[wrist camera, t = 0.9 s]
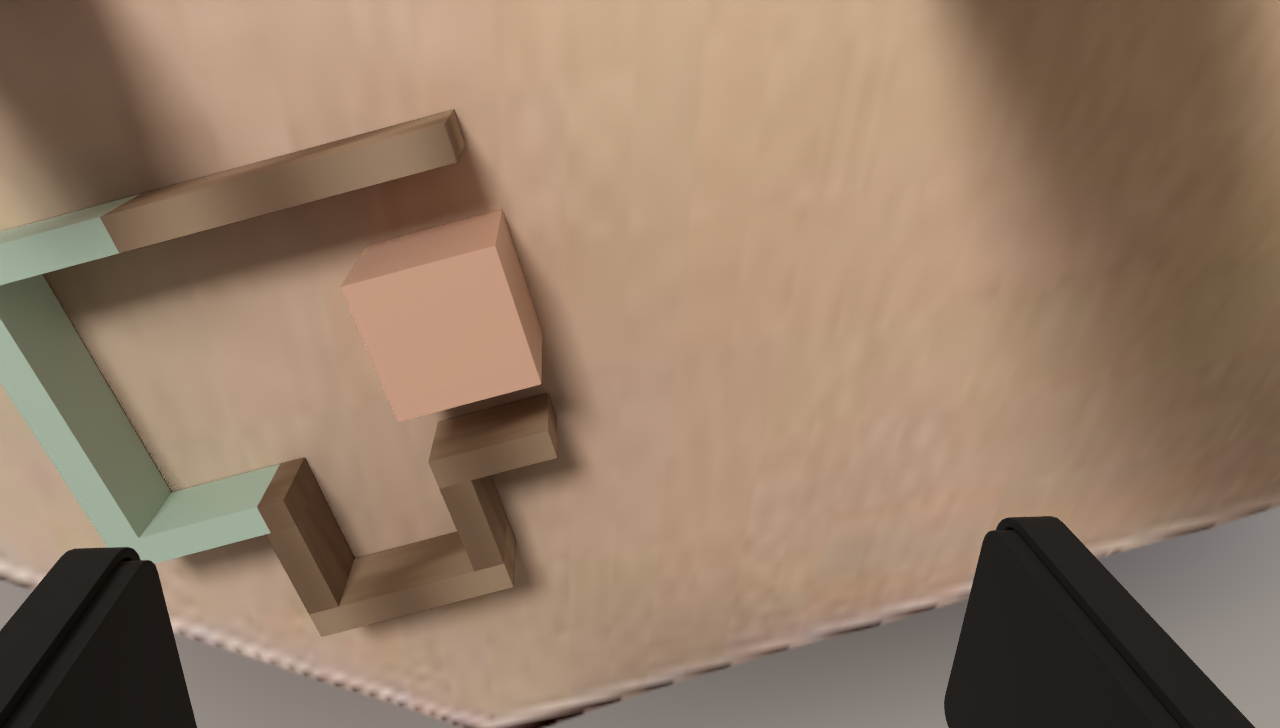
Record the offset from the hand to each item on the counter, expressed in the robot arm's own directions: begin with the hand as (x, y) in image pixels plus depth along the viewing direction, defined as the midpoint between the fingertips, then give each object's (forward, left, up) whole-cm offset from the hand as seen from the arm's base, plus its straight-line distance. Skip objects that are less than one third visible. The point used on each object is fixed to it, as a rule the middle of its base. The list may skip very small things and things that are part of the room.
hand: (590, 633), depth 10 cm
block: (+5, +3, -23) cm, 23 cm away
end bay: (+16, +3, -23) cm, 28 cm away
